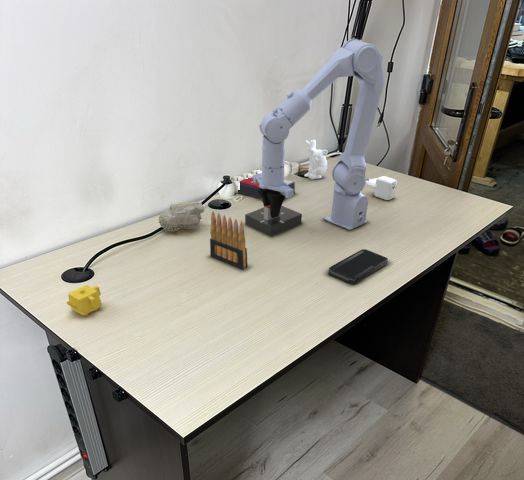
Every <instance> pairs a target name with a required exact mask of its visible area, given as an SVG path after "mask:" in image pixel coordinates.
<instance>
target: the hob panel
mask: <svg viewBox="0 0 524 480" xmlns="http://www.w3.org/2000/svg"><path fill="white" fill-rule="evenodd" d="M302 218H303V214H302V213H300V212H298V211H295V210H293V209H291V208H289V207H287V206H284V205H282V206H281V217H278V218H275V219H272V220H269V221H267V220H265V219H264V207H261V208H258V209H256V210H253V211H251V212H248V213H246V214H244V224H245V226H247V227H249V228H252V229H254V230H256V231H257V232H260V233H263V234H264V235H267V236H269V237H270V238H272V237H274V236H277V235H279V234H280V233H284V232H286V231H287V230H290V229H293V228H295V227H297V226H299V225H302Z"/></svg>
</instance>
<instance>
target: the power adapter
mask: <svg viewBox="0 0 524 480" xmlns="http://www.w3.org/2000/svg"><path fill="white" fill-rule="evenodd" d="M365 185H366V186H367V187H369V188H372V189H374V190H373V195H374V196H375V197H376V198H378V199H382V200H384V201H390V200H392V199H394V198H395V195H396V191H397V185H398V181H397V180H396V179H395V178H391V177H388V176H385V175H384V176H380V177H377V178H375V177H374V178H373V179H371V178H369V177H367V178H366V182H365Z"/></svg>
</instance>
